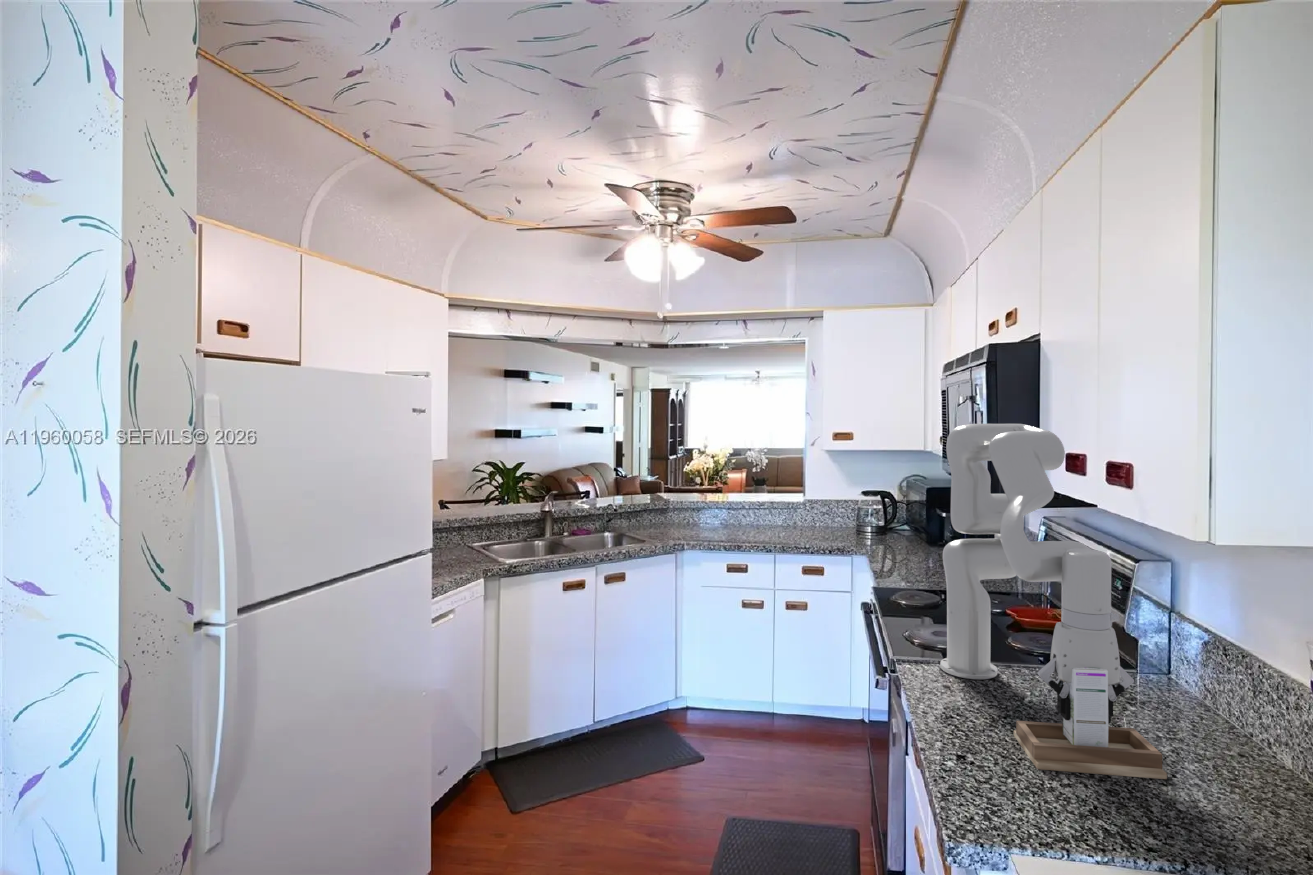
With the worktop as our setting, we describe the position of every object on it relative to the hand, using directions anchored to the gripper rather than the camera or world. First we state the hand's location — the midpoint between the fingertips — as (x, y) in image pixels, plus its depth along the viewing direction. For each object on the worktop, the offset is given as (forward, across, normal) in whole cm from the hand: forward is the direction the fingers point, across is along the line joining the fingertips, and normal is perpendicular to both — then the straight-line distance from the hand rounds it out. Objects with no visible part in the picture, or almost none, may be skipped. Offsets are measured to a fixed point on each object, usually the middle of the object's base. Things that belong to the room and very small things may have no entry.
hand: (1084, 717), depth 125 cm
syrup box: (+5, 0, 0) cm, 5 cm away
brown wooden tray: (+7, 0, 0) cm, 7 cm away
